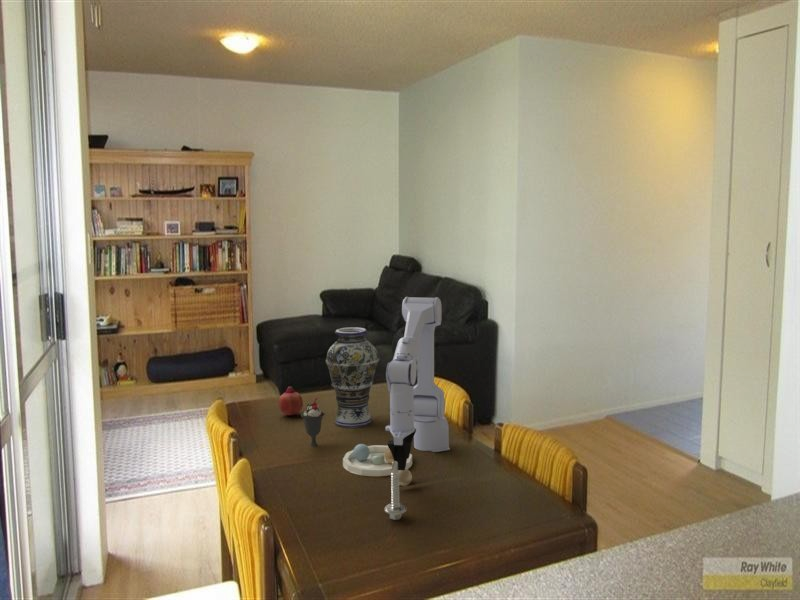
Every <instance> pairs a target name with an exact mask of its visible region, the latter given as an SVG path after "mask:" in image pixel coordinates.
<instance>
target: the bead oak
mask: <svg viewBox="0 0 800 600" xmlns="http://www.w3.org/2000/svg"><path fill="white" fill-rule="evenodd" d="M385 459H386V461H387V462H389V463H391V464H392V462H393V461H394V459H393V456H392V453H391V451H390V449H389V448H388V449H387V450H386V452H385Z"/></svg>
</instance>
